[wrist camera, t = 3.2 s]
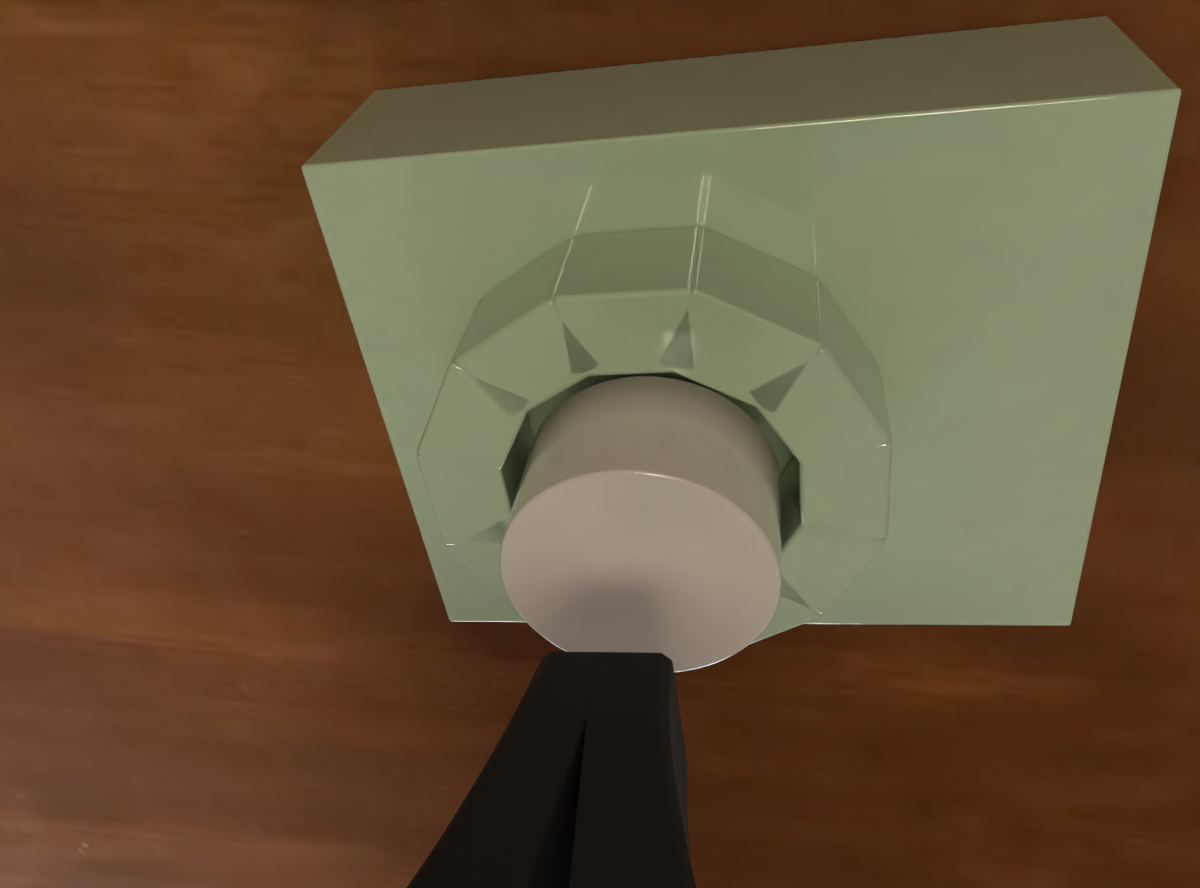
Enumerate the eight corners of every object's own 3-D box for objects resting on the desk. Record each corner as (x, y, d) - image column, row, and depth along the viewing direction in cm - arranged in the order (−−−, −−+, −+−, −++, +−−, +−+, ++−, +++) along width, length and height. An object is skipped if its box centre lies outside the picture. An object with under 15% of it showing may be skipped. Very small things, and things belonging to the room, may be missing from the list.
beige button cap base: (1109, 14, 14) (1241, 146, 10) (1032, 503, 19) (1098, 714, 15) (373, 89, 16) (244, 223, 12) (486, 511, 21) (423, 699, 17)
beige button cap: (776, 368, 13) (777, 467, 11) (784, 569, 15) (786, 677, 13) (508, 380, 13) (472, 474, 12) (551, 570, 16) (526, 672, 14)
